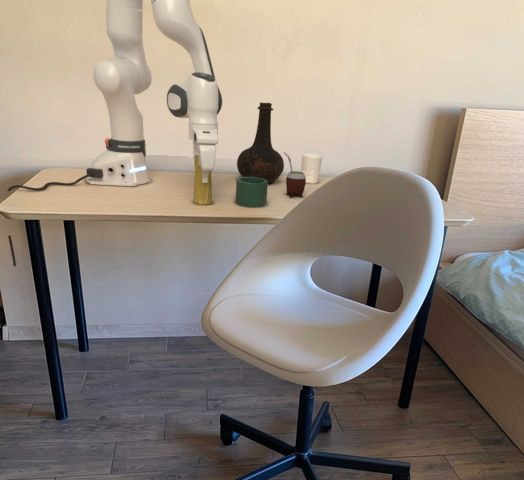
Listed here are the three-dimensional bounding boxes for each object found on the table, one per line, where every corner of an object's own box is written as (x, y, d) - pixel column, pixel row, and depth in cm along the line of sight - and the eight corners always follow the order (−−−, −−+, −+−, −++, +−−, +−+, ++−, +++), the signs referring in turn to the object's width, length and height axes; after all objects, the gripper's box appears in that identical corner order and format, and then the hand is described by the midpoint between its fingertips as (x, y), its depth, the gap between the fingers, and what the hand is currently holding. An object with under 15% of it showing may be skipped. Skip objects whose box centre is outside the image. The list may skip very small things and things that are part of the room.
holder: (239, 207, 164) (240, 183, 160) (232, 199, 172) (233, 176, 169) (269, 207, 167) (271, 184, 163) (261, 199, 175) (263, 176, 171)
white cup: (322, 183, 203) (325, 157, 198) (304, 184, 200) (307, 157, 195) (313, 179, 209) (316, 153, 204) (296, 179, 206) (298, 153, 201)
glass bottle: (227, 179, 199) (229, 99, 185) (261, 175, 210) (266, 99, 195) (257, 189, 188) (262, 105, 174) (291, 184, 198) (299, 105, 184)
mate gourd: (307, 195, 184) (311, 151, 176) (298, 199, 178) (303, 154, 170) (288, 192, 187) (292, 148, 179) (279, 196, 180) (283, 151, 173)
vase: (194, 204, 163) (194, 158, 156) (191, 200, 168) (191, 154, 161) (213, 204, 165) (214, 158, 157) (210, 200, 170) (210, 154, 162)
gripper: (188, 128, 164) (188, 172, 171) (197, 138, 147) (197, 187, 154) (208, 128, 165) (207, 173, 172) (219, 139, 148) (218, 187, 155)
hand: (202, 179), depth 163 cm, fingers open, 6 cm apart
